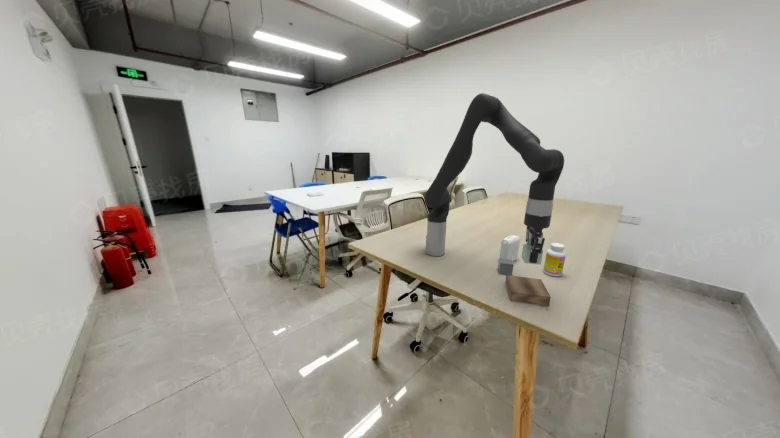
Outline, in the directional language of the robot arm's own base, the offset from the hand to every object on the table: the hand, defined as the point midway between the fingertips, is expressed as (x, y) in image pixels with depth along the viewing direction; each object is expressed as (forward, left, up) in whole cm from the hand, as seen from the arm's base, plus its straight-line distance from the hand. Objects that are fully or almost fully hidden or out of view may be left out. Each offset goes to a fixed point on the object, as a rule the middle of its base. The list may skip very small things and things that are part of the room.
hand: (531, 258), depth 87 cm
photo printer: (-2, +28, -14) cm, 31 cm away
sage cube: (0, 0, -1) cm, 1 cm away
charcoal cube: (-5, +16, -14) cm, 22 cm away
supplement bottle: (+14, +20, -14) cm, 28 cm away
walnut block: (0, 0, -14) cm, 14 cm away
